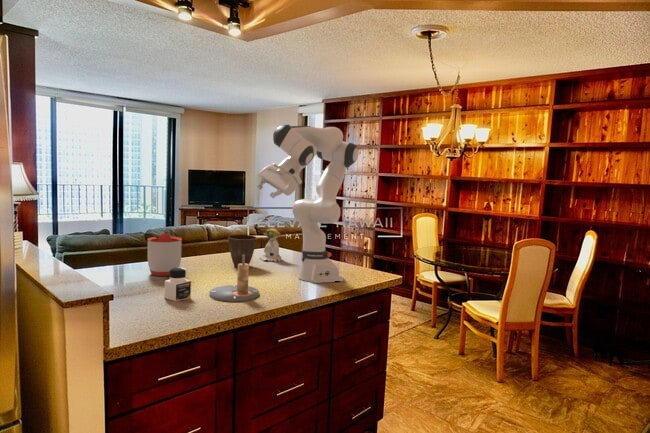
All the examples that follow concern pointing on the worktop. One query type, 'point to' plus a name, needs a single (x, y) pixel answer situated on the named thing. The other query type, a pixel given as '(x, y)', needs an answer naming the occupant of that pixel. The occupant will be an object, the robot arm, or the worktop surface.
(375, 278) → the worktop surface
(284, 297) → the worktop surface
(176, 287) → the medicine bottle
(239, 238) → the plant pot
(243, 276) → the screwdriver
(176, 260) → the citrus juicer
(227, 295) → the dial plate
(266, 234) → the green headed figurine
